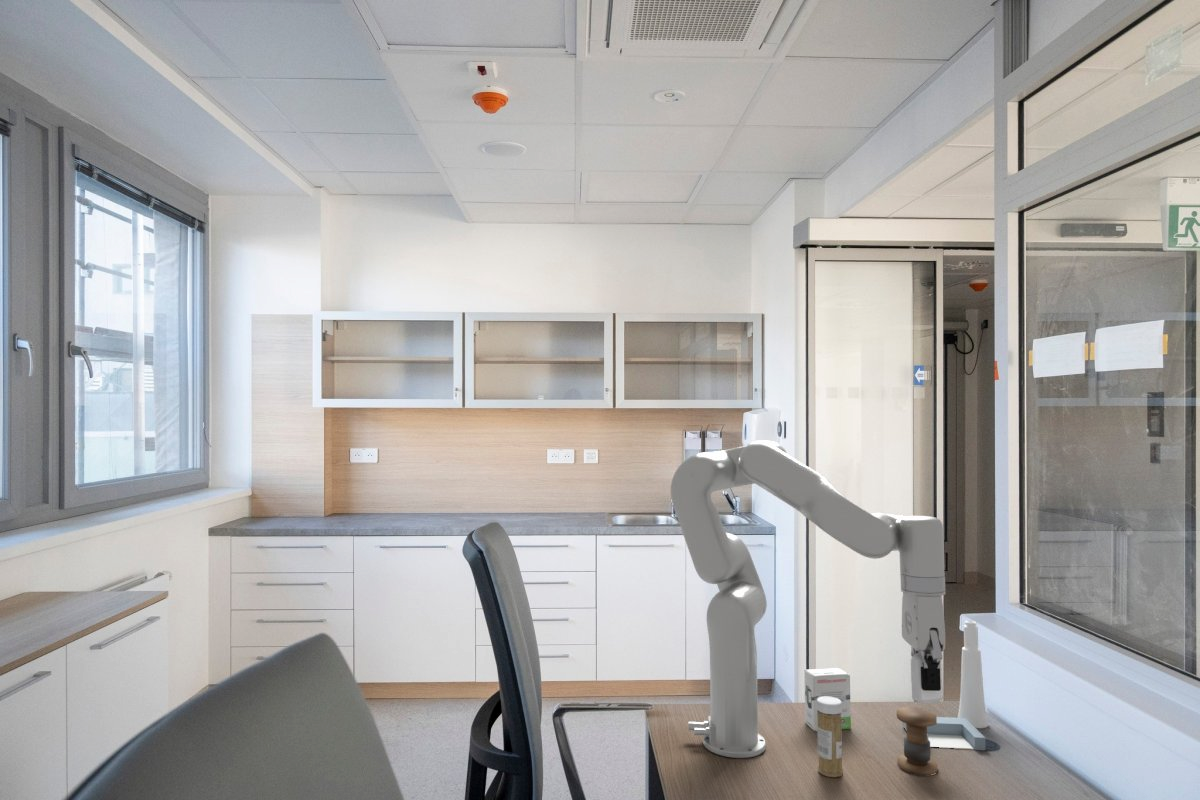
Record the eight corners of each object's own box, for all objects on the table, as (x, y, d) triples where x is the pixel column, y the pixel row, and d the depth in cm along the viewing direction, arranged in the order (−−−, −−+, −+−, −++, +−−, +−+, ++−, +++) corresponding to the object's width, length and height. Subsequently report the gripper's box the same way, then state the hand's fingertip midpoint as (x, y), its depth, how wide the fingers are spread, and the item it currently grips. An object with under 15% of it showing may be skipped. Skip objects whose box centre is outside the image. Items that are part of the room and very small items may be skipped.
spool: (904, 774, 134) (903, 720, 135) (892, 758, 141) (892, 706, 142) (943, 776, 134) (942, 721, 134) (930, 759, 140) (929, 707, 141)
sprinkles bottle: (847, 776, 134) (846, 703, 134) (825, 779, 132) (824, 705, 133) (834, 765, 138) (833, 694, 139) (812, 768, 137) (811, 696, 138)
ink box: (840, 720, 160) (839, 666, 160) (851, 729, 155) (851, 673, 155) (804, 722, 158) (803, 668, 159) (814, 732, 154) (813, 675, 154)
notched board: (918, 747, 146) (917, 734, 146) (902, 727, 156) (902, 715, 156) (985, 750, 145) (985, 737, 145) (965, 729, 155) (965, 718, 155)
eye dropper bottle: (948, 704, 129) (944, 635, 130) (914, 703, 129) (911, 635, 131) (940, 697, 133) (936, 630, 134) (908, 695, 134) (905, 629, 135)
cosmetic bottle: (961, 727, 156) (959, 624, 157) (954, 716, 162) (952, 617, 163) (992, 729, 155) (989, 626, 156) (983, 718, 160) (981, 619, 161)
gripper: (888, 575, 141) (891, 670, 140) (916, 593, 125) (920, 701, 124) (927, 575, 140) (931, 671, 140) (962, 594, 124) (966, 702, 123)
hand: (926, 684), depth 132 cm, fingers closed on eye dropper bottle, 4 cm apart
